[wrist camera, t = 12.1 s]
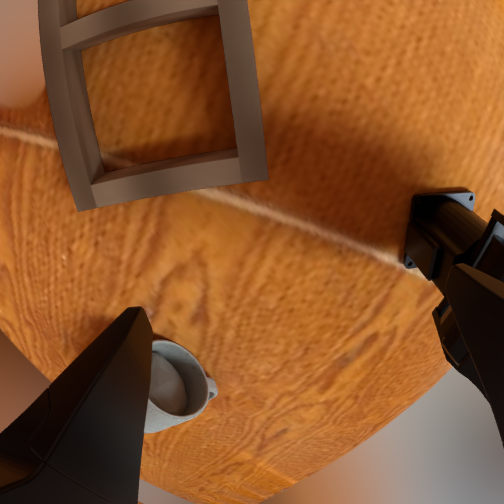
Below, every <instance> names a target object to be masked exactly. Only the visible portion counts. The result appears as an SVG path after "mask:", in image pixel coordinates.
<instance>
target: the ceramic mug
mask: <svg viewBox="0 0 504 504" xmlns="http://www.w3.org/2000/svg"><path fill="white" fill-rule="evenodd" d="M217 394H218V390H217V387H216V384H215V381H214V380H213V379H212V378H209V377H206V374H205V372H204V370H203V368H202V366H201V364H200V363H199V362H198V360H197V359H196V358H195V357H194V356H193V355H192V354H191V353H190V352H189V351H188V350H186V349H185V348H184V347H182V346H181V345H179V344H177V343H174V342H172V341H169V340H153V344H152V364H151V383H150V391H149V398H148V405H147V413H146V420H145V428H144V433H154V432H158V431H161V430H163V429H166V428H168V427H171V426H174V425H177V424H180V423H182V422H185V421H188V420H190V419H193V418H194V417H196V416H197V415H199V414H200V413H201V412H202V411H203V410H204V408H205V407H206V405H207V403H208V400H210V399H212V398H214V397H215V396H216V395H217Z"/></svg>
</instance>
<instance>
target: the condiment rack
mask: <svg viewBox="0 0 504 504" xmlns="http://www.w3.org/2000/svg"><path fill="white" fill-rule="evenodd" d="M218 14H219V17H220V25H221V32H222V40H223V47H224V54H225V62H226V69H227V77H228V84H229V91H230V99H231V106H232V113H233V121H234V128H235V136H236V143H237V148H234V149H227V150H220V151H213V152H207V153H201V154H195V155H189V156H183V157H177V158H172V159H167V160H161V161H156V162H151V163H147V164H142V165H137V166H133V167H128V168H124V169H119V170H115V171H111V172H107V173H105V170H104V167H103V163H102V159H101V155H100V151H99V147H98V142H97V138H96V134H95V129H94V125H93V120H92V115H91V110H90V105H89V100H88V94H87V89H86V83H85V77H84V70H83V64H82V57H81V51H82V50H84V49H87V48H90V47H92V46H95V45H98V44H100V43H103V42H106V41H109V40H112V39H115V38H118V37H121V36H124V35H128V34H131V33H134V32H138V31H141V30H145V29H149V28H152V27H156V26H160V25H165V24H169V23H173V22H178V21H183V20H188V19H193V18H199V17H205V16H211V15H218ZM38 17H39V31H40V43H41V53H42V62H43V69H44V76H45V83H46V89H47V94H48V100H49V105H50V110H51V115H52V120H53V125H54V129H55V133H56V138H57V142H58V146H59V150H60V154H61V157H62V161H63V165H64V168H65V172H66V175H67V179H68V182H69V185H70V189H71V192H72V195H73V198H74V201H75V204H76V207H77V210H78V212H81V211H85V210H90V209H94V208H99V207H104V206H108V205H113V204H118V203H123V202H128V201H133V200H139V199H144V198H150V197H155V196H161V195H166V194H172V193H178V192H184V191H191V190H197V189H204V188H210V187H217V186H224V185H232V184H239V183H247V182H255V181H263V180H269V178H268V169H267V159H266V150H265V140H264V131H263V122H262V113H261V105H260V96H259V88H258V80H257V71H256V63H255V55H254V48H253V40H252V32H251V25H250V17H249V10H248V3H247V0H130V1H127V2H124V3H121V4H118V5H115V6H112V7H109V8H106V9H103V10H101V11H98V12H95V13H93V14H90V15H88V16H85V17H83V18H81V19H78V20H77V9H76V0H38Z"/></svg>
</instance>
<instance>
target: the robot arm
mask: <svg viewBox="0 0 504 504" xmlns="http://www.w3.org/2000/svg"><path fill="white" fill-rule="evenodd" d="M469 197H470V198H469ZM419 199H420V201H419V202H418V203H417V201H418V200H419ZM474 201H475V194H474V193H473V192H471V191H454V192H437V193H422V194H416V195H414V196H413V198H412V203H411V212H410V220H409V223H408V228H407V235H406V242H405V248H404V251H405V254H404V260H403V264H404V266H405V267H406V268H407V269H411V268H416V267H418V268H419V270H420V271H421V272H422V274H423V275H424V276H425V277H426V279H427V280H428V281H431V280H432V281H433V282H434V284H435V285H436V286H437V288H438V289H439V290H440V292H441V293H442V294H443V296H444V298H443V300H442V301H441V303H440V304H439V305H438V307H436V308H435V309H434V310H433V312H432V315H433V318H434V322H435V325H436V328H437V331H438V335H439V338H440V341H441V345H442V349H443V351H444V354H445V357H446V360H447V361H448V362H449V363H450V364H451V365H452V366H453V367H454V368H455V369H456V370H457V371H458V372H459V373H461V374H462V375H464V376H465V377H466V378H468V379H469V380H470V381H471V382H472V383H473V384H474V385H475V386H476V387H477V388H478V389H479V390H480V391H481V393H482V394H483V395H484V397H485V398H486V399H487V401H488V402H489V404H490V405H491V408H492V411H493V414H494V417H495V420H496V423H497V427H498V430H499V433H500V436H501V439H502V442H503V447H504V215H503V214H501V213H500V212H499V211H497V210H496V209H494V210H493V212H492V214H491V216H492V217H491V219H490V221H489V223H487V222H485V221H484V220H483V219H482V218H480V217H479V216H478V215H476V214H475V213H474V212H473V207H474ZM409 262H410V263H409ZM152 344H153V330H152V327H151V324H150V322H149V320H148V317H147V315H146V313H145V310H144V309H143V307H141V306H137V307H128V308H127V309H126V310H125V311H124V312H123V313H122V314H120V315H119V316H118V317H117V318H116V319H115V320H114V321H113V322H112V323H111V324H110V325H109V326H108V327H107V328H106V329H105V330H104V331H103V332H102V333H101V334H100V335H99V336H98V337H97V338H96V339H95V340H94V341H93V342H92V343H91V344H90V345H89V346H88V347H87V348H86V349H85V350H84V351H83V352H82V353H81V354H80V355H79V356H78V357H77V358H76V359H75V360H74V361H73V362H72V363H71V364H70V365H69V366H68V367H67V368H66V369H65V370H64V371H63V372H62V373H61V374H60V375H59V376H58V377H57V378H56V379H55V380H54V381H53V382H52V383H51V384H50V386H49V388H47V389H46V390H45V391H44V392H43V393H42V394H41V395H40V396H39V397H38V398H37V399H36V400H35V401H34V402H33V403H32V404H31V405H30V406H29V407H28V408H27V409H26V410H25V411H24V412H23V413H22V414H21V415H20V416H19V417H18V418H17V419H16V420H14V421H13V422H12V423H11V424H10V425H9V426H8V427H7V428H6V429H4V431H2V432H1V433H0V504H138V490H139V477H140V466H141V455H142V446H143V437H144V428H145V420H146V413H147V405H148V398H149V391H150V383H151V364H152Z"/></svg>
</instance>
